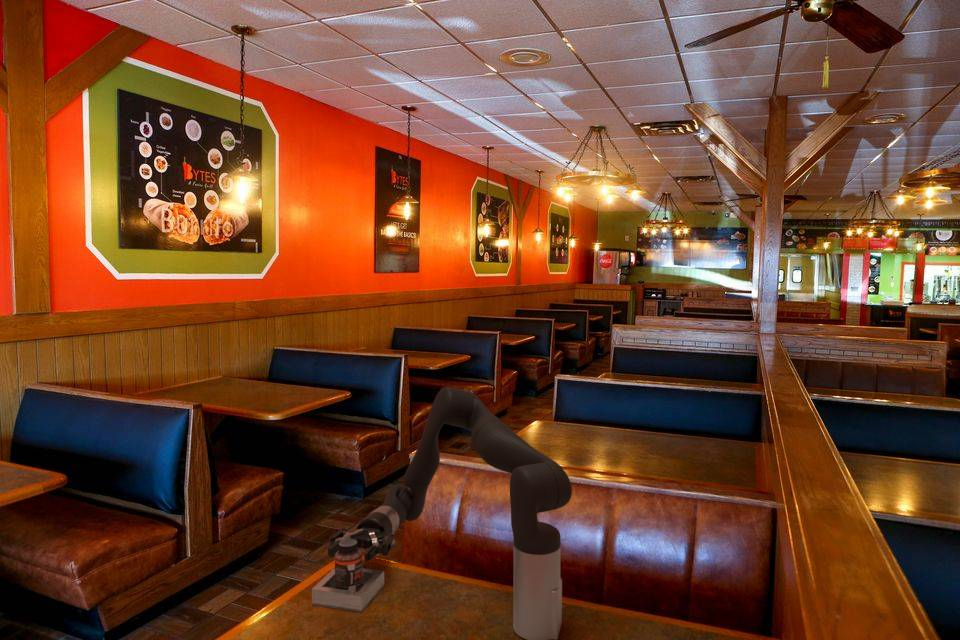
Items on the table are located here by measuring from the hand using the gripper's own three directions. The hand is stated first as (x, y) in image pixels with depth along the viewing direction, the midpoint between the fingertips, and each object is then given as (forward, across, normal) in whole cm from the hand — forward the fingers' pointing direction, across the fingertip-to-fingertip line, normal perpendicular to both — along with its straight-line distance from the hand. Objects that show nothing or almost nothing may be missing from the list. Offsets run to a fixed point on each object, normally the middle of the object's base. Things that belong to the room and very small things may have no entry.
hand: (347, 555), depth 138 cm
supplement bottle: (0, 0, +9) cm, 9 cm away
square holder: (0, 0, +9) cm, 9 cm away
